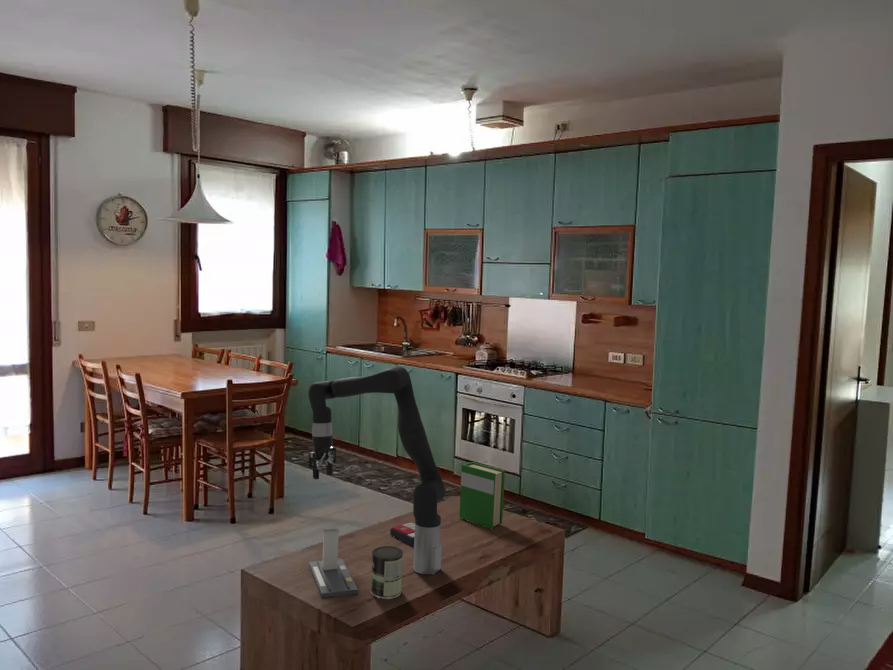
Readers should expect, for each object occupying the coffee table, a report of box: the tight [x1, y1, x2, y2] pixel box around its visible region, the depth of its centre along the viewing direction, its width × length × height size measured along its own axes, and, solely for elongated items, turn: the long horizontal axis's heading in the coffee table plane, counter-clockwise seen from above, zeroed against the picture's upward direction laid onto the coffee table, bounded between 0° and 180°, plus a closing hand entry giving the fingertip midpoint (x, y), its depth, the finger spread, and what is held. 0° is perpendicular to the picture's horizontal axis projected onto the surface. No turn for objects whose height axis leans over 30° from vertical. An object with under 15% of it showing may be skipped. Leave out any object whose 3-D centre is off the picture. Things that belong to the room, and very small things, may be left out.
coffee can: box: [370, 545, 404, 600], centre depth 243 cm, size 10×10×14 cm
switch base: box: [308, 558, 359, 598], centre depth 252 cm, size 26×12×2 cm, turn 20°
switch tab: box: [322, 527, 340, 570], centre depth 256 cm, size 2×5×14 cm, turn 110°
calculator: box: [389, 522, 415, 547], centre depth 293 cm, size 11×4×15 cm
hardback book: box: [459, 461, 506, 529], centre depth 313 cm, size 18×7×24 cm, turn 49°
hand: (323, 476), depth 276 cm, fingers open, 8 cm apart
